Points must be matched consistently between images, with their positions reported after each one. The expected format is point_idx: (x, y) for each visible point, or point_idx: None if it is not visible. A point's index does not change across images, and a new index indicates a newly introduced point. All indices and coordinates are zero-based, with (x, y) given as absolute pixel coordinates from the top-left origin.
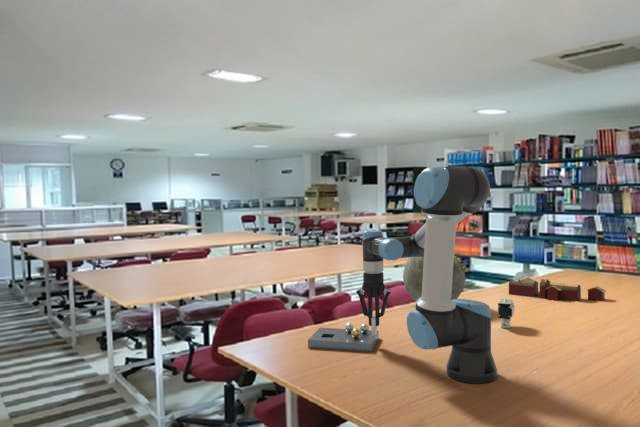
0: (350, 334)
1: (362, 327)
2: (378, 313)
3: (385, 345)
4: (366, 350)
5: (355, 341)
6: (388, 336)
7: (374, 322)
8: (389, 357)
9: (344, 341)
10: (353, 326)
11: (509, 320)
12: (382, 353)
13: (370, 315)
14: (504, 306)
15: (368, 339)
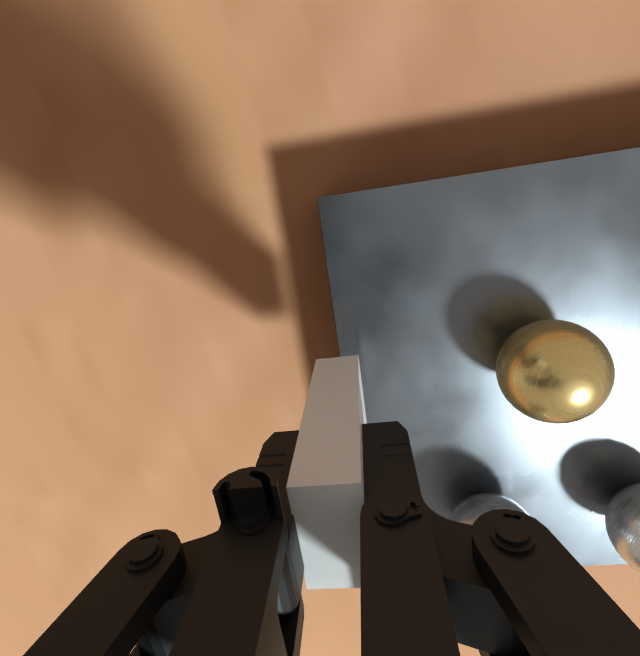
0: (606, 425)
1: None
2: (200, 581)
3: (271, 393)
4: (368, 189)
5: (505, 216)
6: None
7: (311, 439)
8: (133, 109)
9: (636, 171)
10: (620, 547)
11: None
12: (225, 195)
13: (383, 526)
14: None
15: (387, 326)
